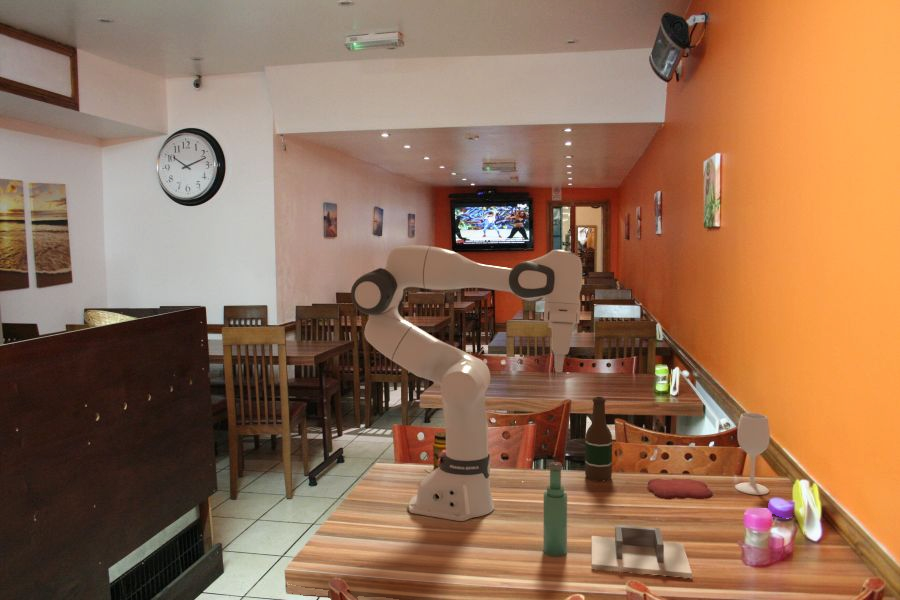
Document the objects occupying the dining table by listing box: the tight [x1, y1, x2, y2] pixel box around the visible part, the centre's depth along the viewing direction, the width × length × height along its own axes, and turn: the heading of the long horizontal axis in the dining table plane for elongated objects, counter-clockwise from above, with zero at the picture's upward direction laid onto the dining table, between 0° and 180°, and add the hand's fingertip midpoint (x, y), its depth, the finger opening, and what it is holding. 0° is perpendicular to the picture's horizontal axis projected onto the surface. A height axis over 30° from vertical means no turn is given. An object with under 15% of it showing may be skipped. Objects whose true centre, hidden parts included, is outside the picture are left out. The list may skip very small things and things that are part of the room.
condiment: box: [424, 432, 446, 474], centre depth 199 cm, size 7×8×12 cm
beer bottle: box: [584, 396, 613, 482], centre depth 192 cm, size 8×8×24 cm
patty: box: [646, 478, 714, 500], centre depth 183 cm, size 18×14×2 cm
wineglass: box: [734, 412, 771, 496], centre depth 182 cm, size 9×9×21 cm
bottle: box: [542, 461, 568, 558], centre depth 145 cm, size 5×5×20 cm
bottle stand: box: [591, 524, 693, 580], centre depth 142 cm, size 20×14×5 cm
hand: (558, 370), depth 162 cm, fingers open, 8 cm apart
